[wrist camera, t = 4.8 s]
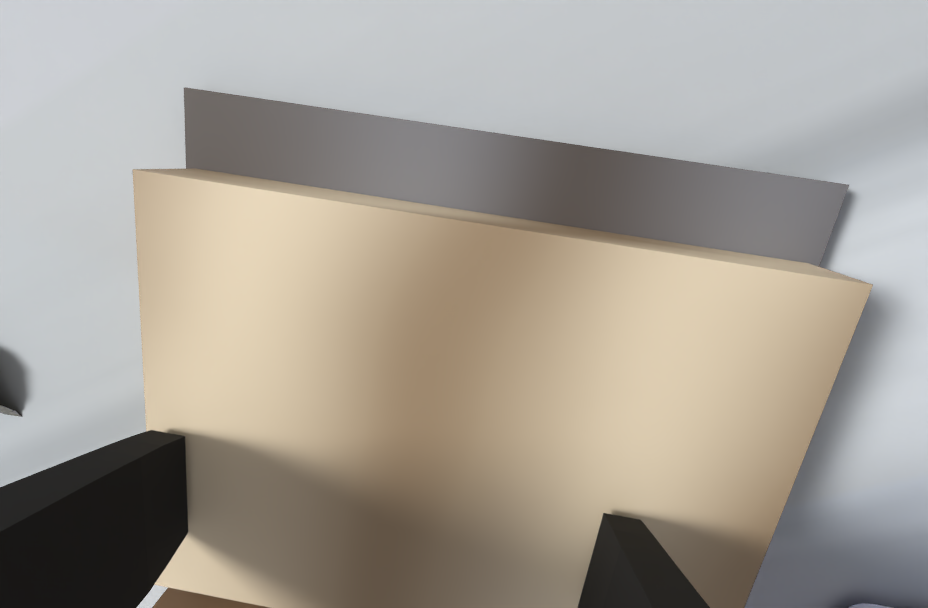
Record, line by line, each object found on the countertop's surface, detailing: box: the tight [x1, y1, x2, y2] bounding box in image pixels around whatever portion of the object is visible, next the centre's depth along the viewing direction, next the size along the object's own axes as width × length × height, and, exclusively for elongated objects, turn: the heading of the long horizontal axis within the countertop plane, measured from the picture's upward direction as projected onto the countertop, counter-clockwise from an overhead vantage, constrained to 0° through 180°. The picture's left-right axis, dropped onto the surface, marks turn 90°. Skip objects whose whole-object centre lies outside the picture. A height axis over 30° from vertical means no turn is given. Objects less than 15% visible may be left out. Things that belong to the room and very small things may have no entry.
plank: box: [133, 169, 873, 608], centre depth 9 cm, size 11×8×2 cm
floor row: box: [152, 88, 849, 608], centre depth 10 cm, size 11×16×2 cm
